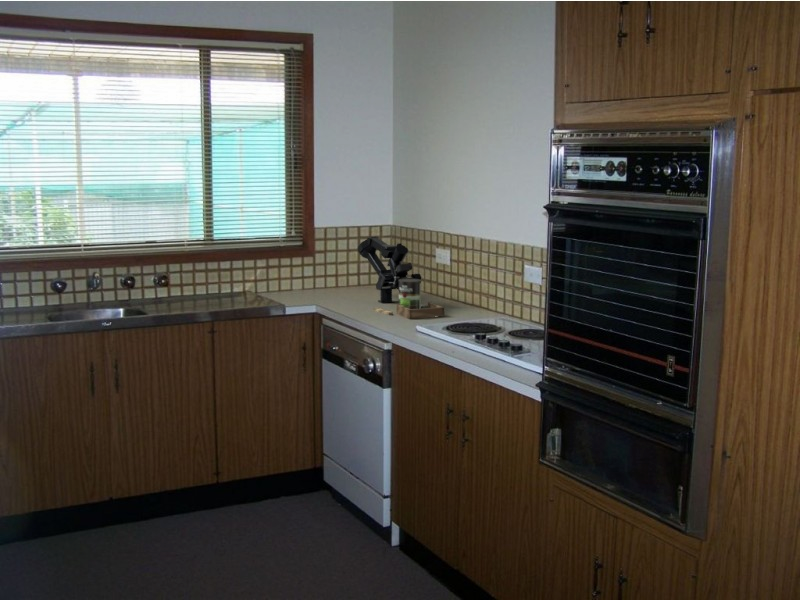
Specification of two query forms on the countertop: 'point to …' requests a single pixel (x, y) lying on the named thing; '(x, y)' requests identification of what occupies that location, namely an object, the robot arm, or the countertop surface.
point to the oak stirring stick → (383, 311)
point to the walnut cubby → (421, 311)
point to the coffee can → (410, 293)
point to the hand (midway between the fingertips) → (405, 294)
